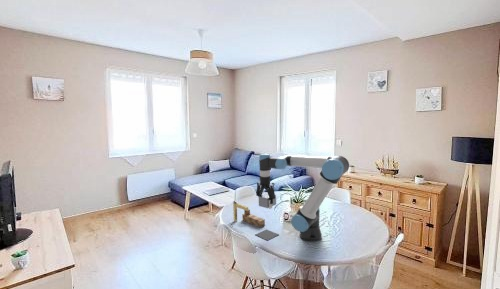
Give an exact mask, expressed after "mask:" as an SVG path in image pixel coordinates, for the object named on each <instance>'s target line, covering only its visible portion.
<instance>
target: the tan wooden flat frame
mask: <svg viewBox="0 0 500 289" xmlns="http://www.w3.org/2000/svg"><path fill="white" fill-rule="evenodd" d="M237 202H238V201H237V200H233V202H232V205H233V222H237V221H238V209H240V210H243V211H244V210H246V211H248V209H249V206H246V205H243V204H241V203H237Z"/></svg>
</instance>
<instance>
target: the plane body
mask: <svg viewBox="0 0 500 289" xmlns="http://www.w3.org/2000/svg"><path fill="white" fill-rule="evenodd" d="M243 212H244V213H243V214H242V216H241V217H242V221H244V222H246V223H248V224H250V225H253V226H255V227H258V228H262V227H265V226H266V224H265V223H266V222H265V221H266V220H265V219H264V218H262V217H259V216H257V215H254V214H251V209H249V208H248V211H246V210H243Z"/></svg>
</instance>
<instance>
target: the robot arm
mask: <svg viewBox="0 0 500 289" xmlns="http://www.w3.org/2000/svg"><path fill="white" fill-rule="evenodd" d="M258 161H259V162H258V163H259V181H258V182H256V192H255V194H256V197H258V198H259V196H261V195H263V194H264V190H265V191H266V193H268V195H269V198H270V199H269V208H268V209H270V210H271V209H273V206H272V204H273V199H275V195H276V194H275V184H271V169H275V170H285V169H286V168H287V167H300V168H301V167H302V168H312V169H313V168H314V169H321V170H320V172H319V176H320V177H319V179H318V181H317V182H316V184H315V186H314V187H313V188H312V191H311V192H310V195H309V196H308V197H307V199H306V201H305V202H304V203H303V204H302V205H300V206H299V208H298V210H297V211H296V213H295V214H293V216H291V220H290V222H291V225H292V227H293V229H294V230H295V231H296V232H299V237H300V239H301V240H304V241H307V242H319V241H321V239H322V238H323V237H322V236H323V235H322V232H321V229H320V212H321V211H320V206H321V205H322V203H323V202H324V201H325V199H326V197H327V196H328V194H329V193H330V191H331V189H332V188H333V185H337V184H338V183H339V181H340V180H341V179H342V176H343V175H344V174H346V173H347V172H348V170H349V169H350V163H349V160H348V159H347V158H346V157H345V156H342V155H328V156H310V155H309V156H308V155H291V154H284V155H282V156H278V157H271V155H270V154H269V153H261V154H259V158H258Z"/></svg>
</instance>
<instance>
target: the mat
mask: <svg viewBox="0 0 500 289" xmlns="http://www.w3.org/2000/svg"><path fill="white" fill-rule="evenodd" d="M254 235H255V236H256V237H258V238H260V239H263V240H265V241H270V240H271V239H274V238H276V237H277V236H279V233H276V232H274V231H271V230H269V229H263V230H262V231H259V232H258V233H255V234H254Z"/></svg>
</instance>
